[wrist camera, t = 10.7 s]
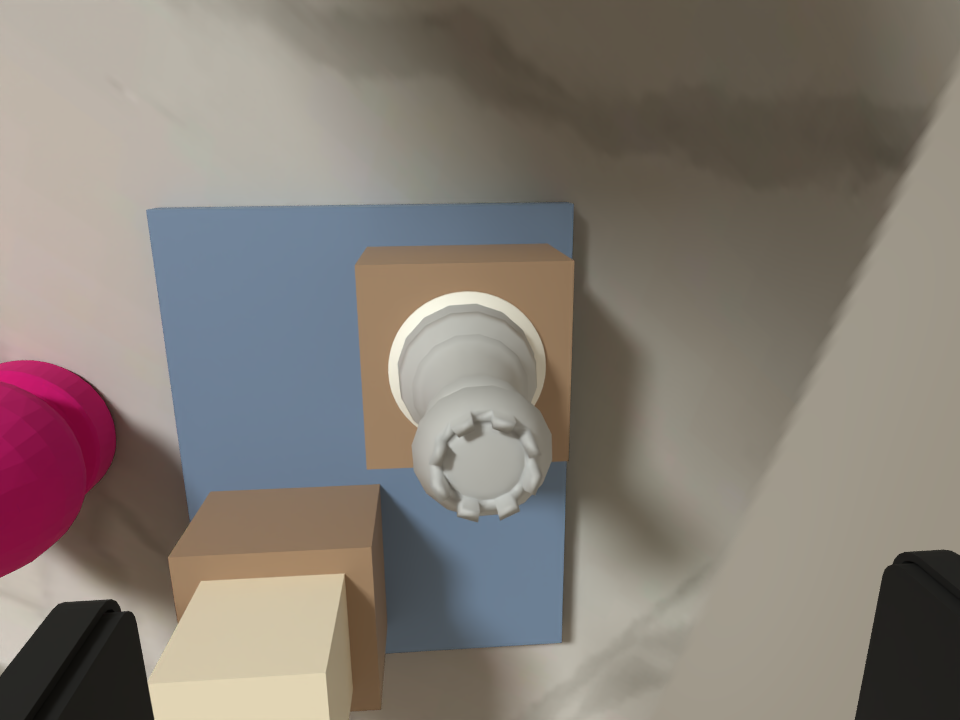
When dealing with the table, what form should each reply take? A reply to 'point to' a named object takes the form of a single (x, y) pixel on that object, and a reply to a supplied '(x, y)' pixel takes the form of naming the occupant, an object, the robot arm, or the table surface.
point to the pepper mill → (46, 455)
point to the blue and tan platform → (343, 449)
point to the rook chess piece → (474, 411)
